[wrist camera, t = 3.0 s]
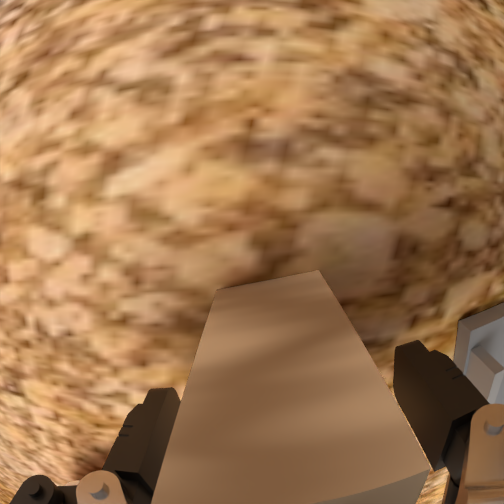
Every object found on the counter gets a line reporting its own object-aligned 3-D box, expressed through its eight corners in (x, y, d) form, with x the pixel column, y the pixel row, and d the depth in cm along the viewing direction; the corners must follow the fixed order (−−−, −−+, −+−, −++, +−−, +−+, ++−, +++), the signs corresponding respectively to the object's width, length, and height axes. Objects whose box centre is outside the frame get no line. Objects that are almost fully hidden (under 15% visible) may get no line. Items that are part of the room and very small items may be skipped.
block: (318, 269, 10) (431, 468, 2) (333, 400, 12) (379, 567, 4) (216, 289, 10) (149, 508, 3) (252, 415, 12) (249, 587, 4)
